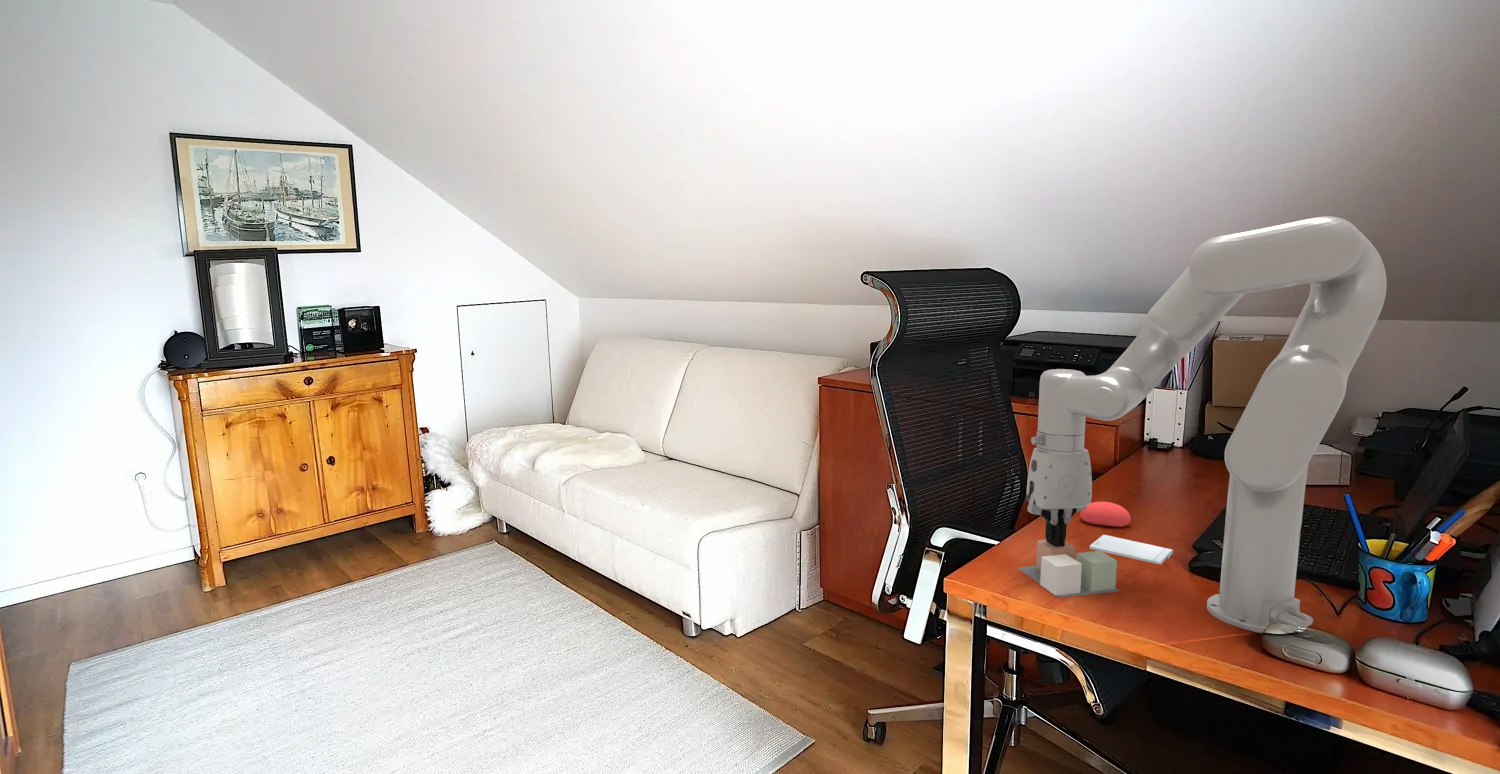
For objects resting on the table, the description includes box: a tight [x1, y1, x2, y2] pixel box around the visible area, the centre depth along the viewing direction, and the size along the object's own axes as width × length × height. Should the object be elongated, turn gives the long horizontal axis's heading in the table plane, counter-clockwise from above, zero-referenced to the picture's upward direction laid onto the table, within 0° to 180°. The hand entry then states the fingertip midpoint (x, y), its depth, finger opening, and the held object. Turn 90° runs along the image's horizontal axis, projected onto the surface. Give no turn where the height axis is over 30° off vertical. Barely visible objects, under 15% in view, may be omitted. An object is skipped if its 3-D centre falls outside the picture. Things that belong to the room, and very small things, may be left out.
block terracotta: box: [1035, 539, 1076, 571], centre depth 138 cm, size 4×4×5 cm
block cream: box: [1039, 554, 1082, 597], centre depth 131 cm, size 4×4×5 cm
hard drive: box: [1089, 534, 1174, 565], centre depth 148 cm, size 2×8×12 cm
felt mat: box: [1017, 565, 1120, 599], centre depth 135 cm, size 13×11×1 cm
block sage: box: [1075, 550, 1118, 592], centre depth 132 cm, size 4×4×5 cm
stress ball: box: [1079, 501, 1132, 528], centre depth 163 cm, size 5×9×6 cm, turn 53°
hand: (1055, 543), depth 138 cm, fingers closed
